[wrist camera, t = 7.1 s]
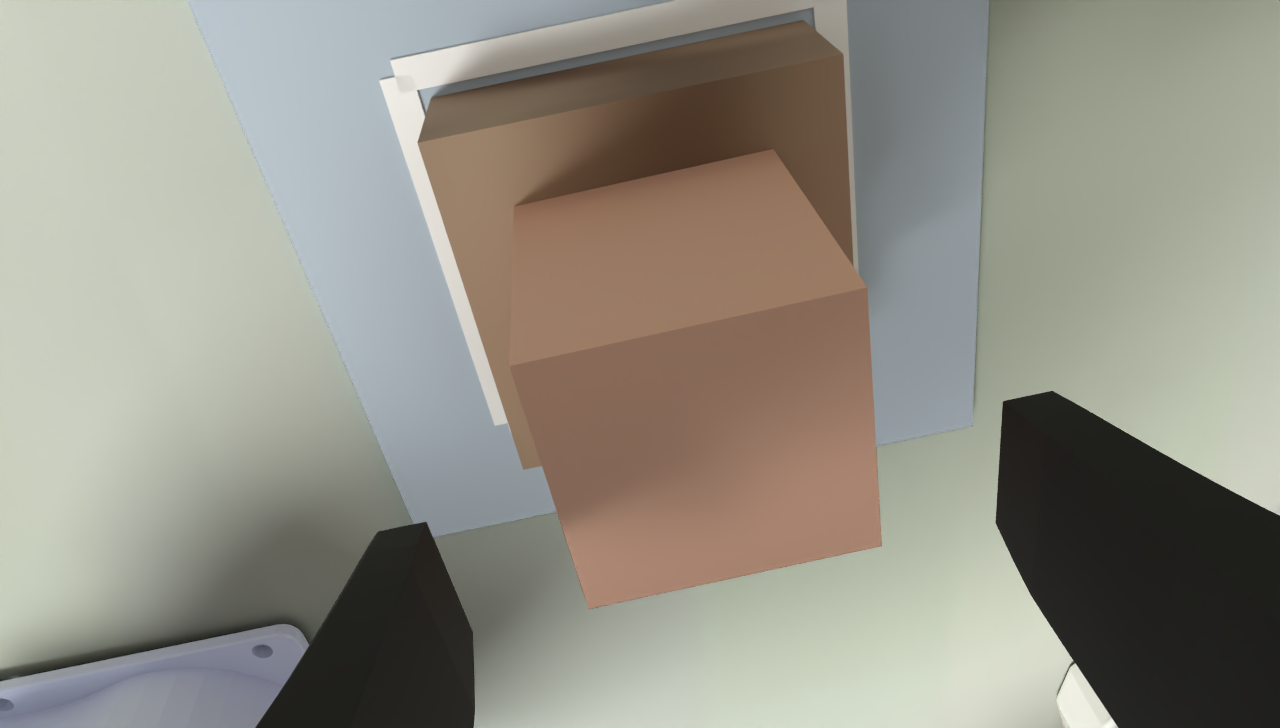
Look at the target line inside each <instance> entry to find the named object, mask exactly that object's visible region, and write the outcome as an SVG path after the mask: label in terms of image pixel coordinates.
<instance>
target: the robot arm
mask: <svg viewBox="0 0 1280 728" xmlns="http://www.w3.org/2000/svg"><path fill="white" fill-rule="evenodd" d="M996 525H997V527H998V529H999V531H1000V533H1001V535H1002V537H1003V540H1004V542H1005V544H1006V546H1007V548H1008V550H1009V552H1010V554H1011V556H1012V559H1013V561H1014V563H1015V565H1016V567H1017V569H1018V571H1019V573H1020V575H1021V577H1022V579H1023V580H1024V582H1025V584H1026V586H1027V588H1028V590H1029V592H1030V594H1031V596H1032V597H1033V599H1034V601H1035V602H1036V604H1037V605H1038V607H1039V608H1040V610H1041V612H1042V613H1043V615H1044V616H1045V618H1046V619H1047V621H1048V622H1049V624H1050V625H1051V627H1052V628H1053V630H1054V632H1055V633H1056V635H1057V636H1058V638H1059V639H1060V641H1061V642H1062V644H1063V645H1064V647H1065V648H1066V650H1067V651H1068V653H1069V654H1070V656H1071V657H1072V659H1073V660H1074V662H1075V663H1076V665H1077V666H1078V668H1079V669H1080V671H1081V672H1082V674H1083V675H1084V677H1085V678H1086V680H1087V681H1088V683H1089V684H1090V686H1091V687H1092V689H1093V691H1094V692H1095V694H1096V695H1097V697H1098V698H1099V700H1100V701H1101V703H1102V704H1103V706H1104V707H1105V709H1106V710H1107V712H1108V713H1109V715H1110V716H1111V718H1112V719H1113V721H1114V722H1115V724H1116V725H1117V727H1118V728H1280V516H1279V515H1277V514H1275V513H1273V512H1271V511H1269V510H1267V509H1265V508H1263V507H1261V506H1259V505H1257V504H1255V503H1253V502H1251V501H1249V500H1247V499H1246V498H1244V497H1242V496H1240V495H1238V494H1236V493H1234V492H1232V491H1230V490H1228V489H1226V488H1225V487H1223V486H1221V485H1219V484H1217V483H1215V482H1213V481H1211V480H1210V479H1208V478H1206V477H1204V476H1202V475H1200V474H1199V473H1197V472H1195V471H1193V470H1191V469H1190V468H1188V467H1186V466H1184V465H1182V464H1180V463H1179V462H1177V461H1175V460H1173V459H1172V458H1170V457H1168V456H1166V455H1164V454H1163V453H1161V452H1159V451H1157V450H1156V449H1154V448H1152V447H1150V446H1149V445H1147V444H1145V443H1143V442H1142V441H1140V440H1138V439H1136V438H1135V437H1133V436H1131V435H1129V434H1128V433H1126V432H1124V431H1122V430H1121V429H1119V428H1117V427H1115V426H1114V425H1112V424H1110V423H1109V422H1107V421H1105V420H1103V419H1102V418H1100V417H1098V416H1096V415H1095V414H1093V413H1091V412H1089V411H1088V410H1086V409H1084V408H1082V407H1081V406H1079V405H1077V404H1075V403H1073V402H1072V401H1070V400H1068V399H1066V398H1064V397H1062V396H1061V395H1059V394H1057V393H1055V392H1053V391H1050V392H1045V393H1040V394H1035V395H1031V396H1026V397H1021V398H1016V399H1011V400H1007V401H1003V410H1002V426H1001V443H1000V460H999V476H998V493H997V510H996ZM263 645H266V646H263ZM474 715H475V690H474V655H473V632H472V629H471V627H470V625H469V622H468V620H467V617H466V615H465V613H464V610H463V608H462V605H461V603H460V601H459V598H458V596H457V593H456V591H455V589H454V586H453V584H452V582H451V579H450V577H449V574H448V572H447V570H446V567H445V565H444V562H443V560H442V558H441V555H440V553H439V550H438V548H437V546H436V543H435V541H434V538H433V536H432V534H431V531H430V529H429V527H428V524H427V522H422V523H417V524H413V525H408V526H403V527H398V528H393V529H389V530H384V531H379V532H378V533H377V534H376V535H375V537H374V538H373V540H372V541H371V543H370V545H369V546H368V548H367V550H366V551H365V553H364V555H363V556H362V558H361V560H360V561H359V563H358V565H357V566H356V568H355V570H354V572H353V573H352V575H351V577H350V578H349V580H348V582H347V584H346V585H345V587H344V589H343V590H342V592H341V594H340V595H339V597H338V599H337V600H336V602H335V604H334V605H333V607H332V609H331V611H330V612H329V614H328V616H327V617H326V619H325V621H324V622H323V624H322V626H321V627H320V629H319V630H318V632H317V634H316V635H315V637H314V638H313V640H312V642H311V643H310V645H309V644H308V642H307V640H306V639H305V637H304V635H303V633H302V632H301V631H300V630H299V629H298V628H296V627H294V626H292V625H287V624H277V625H273V626H268V627H263V628H258V629H253V630H248V631H243V632H238V633H234V634H229V635H224V636H219V637H214V638H209V639H204V640H200V641H195V642H190V643H185V644H180V645H175V646H170V647H165V648H161V649H156V650H151V651H146V652H141V653H136V654H131V655H127V656H122V657H117V658H112V659H107V660H102V661H97V662H92V663H88V664H83V665H78V666H73V667H68V668H63V669H58V670H54V671H49V672H44V673H39V674H34V675H29V676H24V677H19V678H15V679H10V680H5V681H0V728H473V727H474Z"/></svg>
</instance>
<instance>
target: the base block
mask: <svg viewBox="0 0 1280 728" xmlns="http://www.w3.org/2000/svg"><path fill="white" fill-rule="evenodd" d="M417 143H418V146H419V149H420V153H421V156H422V159H423V162H424V165H425V168H426V171H427V174H428V177H429V180H430V183H431V187H432V190H433V193H434V196H435V199H436V202H437V205H438V208H439V211H440V214H441V217H442V220H443V224H444V227H445V230H446V233H447V236H448V239H449V242H450V245H451V248H452V251H453V254H454V258H455V261H456V264H457V267H458V270H459V273H460V276H461V279H462V282H463V285H464V288H465V292H466V295H467V298H468V301H469V304H470V307H471V310H472V313H473V316H474V319H475V322H476V325H477V329H478V332H479V335H480V338H481V341H482V344H483V347H484V350H485V353H486V356H487V359H488V363H489V366H490V369H491V372H492V375H493V378H494V381H495V384H496V387H497V390H498V393H499V396H500V400H501V403H502V406H503V409H504V412H505V415H506V418H507V421H508V424H509V427H510V430H511V434H512V437H513V440H514V443H515V446H516V449H517V452H518V455H519V458H520V461H521V464H522V468H523V470H525V469H530V468H535V467H540V466H542V465H541V462H540V459H539V456H538V453H537V450H536V447H535V443H534V440H533V437H532V434H531V431H530V428H529V425H528V422H527V419H526V416H525V413H524V410H523V407H522V404H521V401H520V398H519V395H518V392H517V388H516V385H515V382H514V379H513V376H512V373H511V370H510V367H509V355H510V320H511V285H512V250H513V214H514V206H519V205H523V204H528V203H532V202H537V201H541V200H546V199H550V198H555V197H559V196H564V195H568V194H573V193H577V192H582V191H586V190H591V189H595V188H600V187H604V186H609V185H613V184H618V183H622V182H627V181H631V180H636V179H640V178H645V177H649V176H654V175H658V174H663V173H667V172H672V171H676V170H681V169H685V168H690V167H694V166H699V165H703V164H708V163H712V162H717V161H721V160H726V159H730V158H735V157H739V156H744V155H749V154H753V153H758V152H762V151H767V150H771V149H774V151H775V152H776V153H777V155H778V156H779V158H780V159H781V161H782V162H783V164H784V165H785V167H786V168H787V170H788V171H789V173H790V174H791V176H792V177H793V178H794V180H795V181H796V183H797V184H798V186H799V187H800V189H801V190H802V192H803V193H804V195H805V196H806V198H807V199H808V201H809V202H810V204H811V205H812V206H813V208H814V209H815V211H816V212H817V214H818V215H819V217H820V218H821V220H822V221H823V223H824V224H825V226H826V227H827V229H828V230H829V232H830V233H831V234H832V236H833V237H834V239H835V240H836V242H837V243H838V245H839V246H840V248H841V249H842V251H843V252H844V254H845V255H846V257H847V258H848V259H849V261H850V262H851V264H852V265H853V244H852V223H851V202H850V182H849V161H848V140H847V119H846V98H845V77H844V56H843V53H842V52H840V51H839V50H838V49H837V48H836V47H835V46H833V45H832V44H831V43H830V42H829V41H828V40H826V39H825V38H824V37H823V36H822V35H820V34H819V33H818V32H817V31H816V30H815V29H813V28H812V27H811V26H810V25H809V24H808V23H806V22H805V21H804V20H800V21H796V22H791V23H786V24H781V25H776V26H772V27H767V28H762V29H757V30H752V31H748V32H743V33H738V34H733V35H729V36H724V37H719V38H714V39H709V40H705V41H700V42H695V43H690V44H685V45H681V46H676V47H671V48H666V49H662V50H657V51H652V52H647V53H642V54H638V55H633V56H628V57H623V58H618V59H614V60H609V61H604V62H599V63H595V64H590V65H585V66H580V67H575V68H571V69H566V70H561V71H556V72H551V73H547V74H542V75H537V76H532V77H527V78H523V79H518V80H513V81H508V82H504V83H499V84H494V85H489V86H484V87H480V88H475V89H470V90H465V91H460V92H456V93H451V94H446V95H441V96H437V97H432V98H431V99H430V103H429V106H428V109H427V113H426V116H425V119H424V123H423V126H422V129H421V132H420V136H419V139H418V142H417ZM853 267H854V265H853Z"/></svg>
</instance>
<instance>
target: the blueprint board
mask: <svg viewBox="0 0 1280 728" xmlns="http://www.w3.org/2000/svg"><path fill="white" fill-rule="evenodd" d="M187 2H188V4H189V7H190V9H191V11H192V13H193V16H194V18H195V20H196V23H197V25H198V27H199V30H200V32H201V34H202V37H203V39H204V41H205V44H206V46H207V48H208V50H209V53H210V55H211V57H212V60H213V62H214V64H215V67H216V69H217V71H218V74H219V76H220V78H221V81H222V83H223V85H224V87H225V90H226V92H227V94H228V97H229V99H230V101H231V104H232V106H233V108H234V111H235V113H236V115H237V118H238V120H239V122H240V125H241V127H242V129H243V131H244V134H245V136H246V138H247V141H248V143H249V145H250V148H251V150H252V152H253V155H254V157H255V159H256V162H257V164H258V166H259V168H260V171H261V173H262V175H263V178H264V180H265V182H266V185H267V187H268V189H269V192H270V194H271V196H272V199H273V201H274V203H275V205H276V208H277V210H278V212H279V215H280V217H281V219H282V222H283V224H284V226H285V229H286V231H287V233H288V236H289V238H290V240H291V243H292V245H293V247H294V249H295V252H296V254H297V256H298V259H299V261H300V263H301V266H302V268H303V270H304V273H305V275H306V277H307V280H308V282H309V284H310V286H311V289H312V291H313V293H314V296H315V298H316V300H317V303H318V305H319V307H320V310H321V312H322V314H323V317H324V319H325V321H326V323H327V326H328V328H329V330H330V333H331V335H332V337H333V340H334V342H335V344H336V347H337V349H338V351H339V354H340V356H341V358H342V360H343V363H344V365H345V367H346V370H347V372H348V374H349V377H350V379H351V381H352V384H353V386H354V388H355V391H356V393H357V395H358V398H359V400H360V402H361V404H362V407H363V409H364V411H365V414H366V416H367V418H368V421H369V423H370V425H371V428H372V430H373V432H374V435H375V437H376V439H377V441H378V444H379V446H380V448H381V451H382V453H383V455H384V458H385V460H386V462H387V465H388V467H389V469H390V472H391V474H392V476H393V478H394V481H395V483H396V485H397V488H398V490H399V492H400V495H401V497H402V499H403V502H404V504H405V506H406V509H407V511H408V513H409V516H410V518H411V520H412V522H413V524H417V523H422V522H427V524H428V527H429V529H430V531H431V534H432V536H433V537H438V536H443V535H448V534H453V533H457V532H462V531H467V530H472V529H477V528H482V527H487V526H491V525H496V524H501V523H506V522H511V521H516V520H521V519H525V518H530V517H535V516H540V515H545V514H550V513H555V512H557V511H556V508H555V505H554V502H553V498H552V495H551V492H550V489H549V486H548V483H547V480H546V477H545V474H544V471H543V468H542V466H540V467H535V468H530V469H525V470H523V468H522V464H521V461H520V458H519V455H518V452H517V449H516V446H515V443H514V440H513V437H512V434H511V430H510V427H509V424H508V421H507V418H506V415H505V412H504V409H503V406H502V403H501V400H500V396H499V393H498V390H497V387H496V384H495V381H494V378H493V375H492V372H491V369H490V366H489V363H488V359H487V356H486V353H485V350H484V347H483V344H482V341H481V338H480V335H479V332H478V329H477V325H476V322H475V319H474V316H473V313H472V310H471V307H470V304H469V301H468V298H467V295H466V292H465V288H464V285H463V282H462V279H461V276H460V273H459V270H458V267H457V264H456V261H455V258H454V254H453V251H452V248H451V245H450V242H449V239H448V236H447V233H446V230H445V227H444V224H443V220H442V217H441V214H440V211H439V208H438V205H437V202H436V199H435V196H434V193H433V190H432V187H431V183H430V180H429V177H428V174H427V171H426V168H425V165H424V162H423V159H422V156H421V153H420V149H419V146H418V143H417V142H418V139H419V136H420V132H421V129H422V126H423V123H424V119H425V116H426V113H427V109H428V106H429V103H430V99H431V98H432V97H437V96H441V95H446V94H451V93H456V92H460V91H465V90H470V89H475V88H480V87H484V86H489V85H494V84H499V83H504V82H508V81H513V80H518V79H523V78H527V77H532V76H537V75H542V74H547V73H551V72H556V71H561V70H566V69H571V68H575V67H580V66H585V65H590V64H595V63H599V62H604V61H609V60H614V59H618V58H623V57H628V56H633V55H638V54H642V53H647V52H652V51H657V50H662V49H666V48H671V47H676V46H681V45H685V44H690V43H695V42H700V41H705V40H709V39H714V38H719V37H724V36H729V35H733V34H738V33H743V32H748V31H752V30H757V29H762V28H767V27H772V26H776V25H781V24H786V23H791V22H796V21H800V20H804V21H805V22H806V23H808V24H809V25H810V26H811V27H812V28H813V29H815V30H816V31H817V32H818V33H819V34H820V35H822V36H823V37H824V38H825V39H826V40H828V41H829V42H830V43H831V44H832V45H833V46H835V47H836V48H837V49H838V50H839V51H840V52H842V53H843V56H844V77H845V98H846V119H847V140H848V161H849V182H850V202H851V223H852V244H853V265H854V268H855V270H856V271H857V273H858V274H859V276H860V277H861V279H862V280H863V282H864V283H865V285H866V286H867V288H868V306H869V324H870V342H871V360H872V379H873V397H874V415H875V433H876V446H880V445H885V444H890V443H895V442H900V441H904V440H909V439H914V438H919V437H924V436H929V435H934V434H938V433H943V432H948V431H953V430H958V429H963V428H968V427H972V426H973V401H974V376H975V351H976V325H977V300H978V275H979V249H980V224H981V199H982V173H983V148H984V123H985V97H986V72H987V47H988V21H989V0H187Z"/></svg>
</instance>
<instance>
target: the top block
mask: <svg viewBox="0 0 1280 728" xmlns="http://www.w3.org/2000/svg"><path fill="white" fill-rule="evenodd" d="M509 367H510V370H511V373H512V376H513V379H514V382H515V385H516V388H517V392H518V395H519V398H520V401H521V404H522V407H523V410H524V413H525V416H526V419H527V422H528V425H529V428H530V431H531V434H532V437H533V440H534V443H535V447H536V450H537V453H538V456H539V459H540V462H541V465H542V468H543V471H544V474H545V477H546V480H547V483H548V486H549V489H550V492H551V495H552V498H553V502H554V505H555V508H556V511H557V514H558V517H559V520H560V523H561V526H562V529H563V532H564V535H565V538H566V541H567V544H568V547H569V550H570V553H571V557H572V560H573V563H574V566H575V569H576V572H577V575H578V578H579V581H580V584H581V587H582V590H583V593H584V596H585V599H586V602H587V605H588V608H589V609H592V608H596V607H601V606H606V605H610V604H615V603H620V602H624V601H629V600H634V599H638V598H643V597H647V596H652V595H657V594H661V593H666V592H671V591H675V590H680V589H685V588H689V587H694V586H699V585H703V584H708V583H712V582H717V581H722V580H726V579H731V578H736V577H740V576H745V575H750V574H754V573H759V572H764V571H768V570H773V569H777V568H782V567H787V566H791V565H796V564H801V563H805V562H810V561H815V560H819V559H824V558H829V557H833V556H838V555H842V554H847V553H852V552H856V551H861V550H866V549H870V548H875V547H880V546H882V543H881V524H880V506H879V488H878V470H877V452H876V433H875V415H874V397H873V379H872V360H871V342H870V324H869V306H868V288H867V286H866V285H865V283H864V282H863V280H862V279H861V277H860V276H859V274H858V273H857V271H856V270H855V268H854V267H853V265H852V264H851V262H850V261H849V259H848V258H847V257H846V255H845V254H844V252H843V251H842V249H841V248H840V246H839V245H838V243H837V242H836V240H835V239H834V237H833V236H832V234H831V233H830V232H829V230H828V229H827V227H826V226H825V224H824V223H823V221H822V220H821V218H820V217H819V215H818V214H817V212H816V211H815V209H814V208H813V206H812V205H811V204H810V202H809V201H808V199H807V198H806V196H805V195H804V193H803V192H802V190H801V189H800V187H799V186H798V184H797V183H796V181H795V180H794V178H793V177H792V176H791V174H790V173H789V171H788V170H787V168H786V167H785V165H784V164H783V162H782V161H781V159H780V158H779V156H778V155H777V153H776V152H775V151H774V149H771V150H767V151H762V152H758V153H753V154H749V155H744V156H739V157H735V158H730V159H726V160H721V161H717V162H712V163H708V164H703V165H699V166H694V167H690V168H685V169H681V170H676V171H672V172H667V173H663V174H658V175H654V176H649V177H645V178H640V179H636V180H631V181H627V182H622V183H618V184H613V185H609V186H604V187H600V188H595V189H591V190H586V191H582V192H577V193H573V194H568V195H564V196H559V197H555V198H550V199H546V200H541V201H537V202H532V203H528V204H523V205H519V206H514V214H513V250H512V285H511V320H510V355H509Z"/></svg>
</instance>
